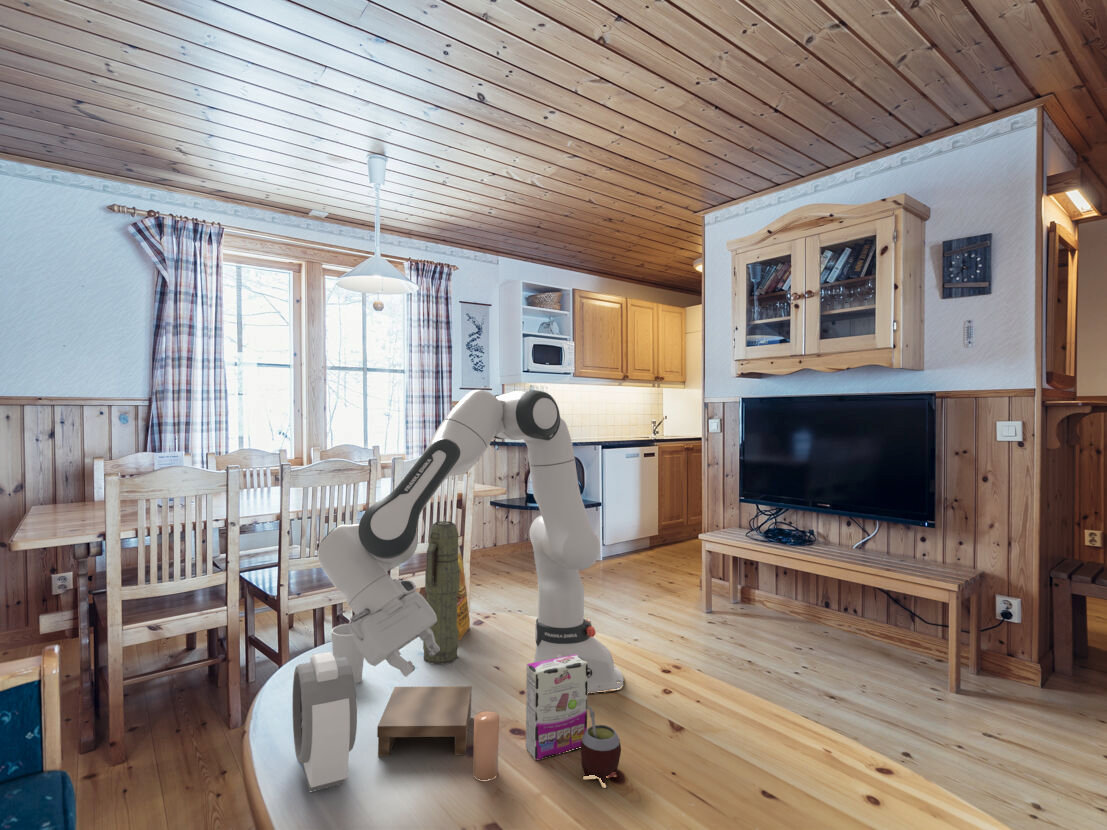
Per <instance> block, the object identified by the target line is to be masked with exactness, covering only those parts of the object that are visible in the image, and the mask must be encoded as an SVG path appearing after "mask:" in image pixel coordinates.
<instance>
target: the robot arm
mask: <svg viewBox="0 0 1107 830" xmlns="http://www.w3.org/2000/svg"><path fill="white" fill-rule="evenodd" d="M493 439H497V440H511V441H520V440H523V441H524V443H525V445H526V448H527V455H528V458H527V459H528V465H529V473H530V479H531V485H532V494H533V498H534V500H535V502H536V504H537V507H538V509H539V513H540V515H539V516H537V517H536V518H535V519H534V520H533V521H532V523H531V524H530V527H529V534H528V535H529V539H530V542H531V544H532V549H533V556H534V565H535V570H536V576H537V577H536V578H537V588H538V594H537V595H538V603H537V607H538V608H537V618H536V621H535V637H534V638H535V639H534V640H535V644H536V647H535V653H534V659H533V663H535V662H540V661H545V660H550V659H555V658H560V657H565V656H570V655H575V654H576V655H578V656H579V657H581V658H582V659H583V660H585V661H586V662H587V663H588V674H587V693H588V692H589V693H591V692H597V691H604V690H610V689H617V688H620V687H621V686H622V685H623V681H624V675H623V673H622V672H621V670H620V669H619V668H618V667H617V666H615V662H614V659H613V656H612V653H611V651H610V649H609V648H608V647H607V646H605V645H604V644H603V643H601V642H600V641H599V640H597V639H596V638H595V636H596V633H597V632H596V629H595V627H593V626H592V623H591V622H590V621H589V620H588V619H585V618H584V617H585V615H584V612H585V587H584V584H583V582H582V579H581V575H580V571H583V570H587V569H589V568H591V567H592V566H593V565H594V564H595V563H596V562H597V560H598V558H599V556H600V552H601V544H600V540H599V537H598V536H597V534H596V533H595V531H594V530H593V527H592V525H591V522H590V519H589V516H588V513H587V510H586V507H585V505H584V502H583V498H582V495H581V491H580V486H579V480H578V479H579V478H578V473H577V472H578V471H577V466H576V464H577V463H576V457H575V451H574V446H573V441H572V438H571V434H570V431H569V428H568V425H567V423H566V421H565V420H564V418H561V415H560V409H559V406H558V404H557V401H556V400H555V399H554V397H553V396H552V395H551V394H550V393H548V392H545V391H541V390H536V389H532V390H516V391H511V392H508V393H504V394H496V395H494V394H492V393H491V392H489V391H486V390H483V389H475V390H472V391H470V392H468V393H467V394H466V395H464V397H463V398H462V399H460V401H458V402H457V404H455V405H454V406H453V408H451V410H450V411H449V412H448V413H447V415H446V416H445V417H444V419H443V420H442V422H441V423H440V425H439V426H438V427H437V429H436V431H435V432H434V434H433V436H432V437H431V439H430V441H429V443H428V444H427V446H426V448H425V449H424V452H423V454H422V455H421V456H420V457H419V459H418V460H417V461H416V462H415V464H414V465H413V466H412V467H411V468H410V469H409V471H408V472H407V474H406V475H405V476H404V478H402V480H401V481H400V483H399V484H398V485H397V486H396V487H395V489H394V490H393V491H392V492H390V493H389V494H388V495H386V496H385V497H383V498H382V499H381V500H379V501H377V502H375V503H374V504H373V505H371V506H370V507H369V508H367V510H366V511H365V512H364V513H363V515H362V516H361V518H360V519H359V520H360V521H359V523H356V524H355V523H354V524H340V525H339V526H336V527H335V528H333V529H332V530H331V531H330V532H329V533H327V534H326V535H325V537H324V538H323V539H322V540H321V542H320V544H319V545H318V548H317V551H316V553H317V561H318V562H319V564H320V567H321V568H322V570H323V572H324V573H325V575H326V576H327V578H328V579H329V581H330V582H331V584H332V585H333V586H334V587H335V589H337V590H339V592H340V593H341V594H342V595H343V596H344V597H345V600H346V604H347V605H348V606H349V608H350V609H351V610H352V612H353V613H354V614H353V615H352V616H351V617H350V619H349V622H348V624H349V628H350V630H351V632H352V633H353V638H354V641H355V643H356V644H357V646H358V648H359V650H360V652H361V653H362V655H363V656H364V660H365V662H366V663H367V664H369V665H371V666H373V667H376V666H377V665H379V664H381V663H382V662H383V661H385V660H386V662H387V663H388V665H390V666H391V667H393V668H395V669H396V670H399V671H400V672H401V674H402V675H403V676H404V677H408V676H409V675H411V673H413V672H414V671H415V670H416V666H415V665H414V664H413V662H412V661H411V660H407V659H405V658H404V657H402V656H401V655H402V653H401V652H400V650H401V649H402V648H404V647H406V646H407V645H409V644H410V643H411V642H414V640H416V639H417V638H419V639H420V640H421V641H423V640H424V641H425V644H426V646H427V649H426V651H427V653H429V655H430V656H431V657H432V656H434V655H435V654H436V653H437V652H438V651H439V650H440V647H439V646H438V645H437V643H436V642H435V638H434V634H433V632H432V630H431V629H430V628H431V627H432V626H433V625H434V624H435V623H436V622H437V617H436V614H435V612H434V611H433V609H432V608H431V606H430V605H429V604H428V602H427V599H425V597H424V596H423V595H422V594H421V593H420V592H419V591H416V590H417V585H416V584H415V582H414V581H412V580H408V579H407V580H405V579H397V578H393V577H392V576H391V575H390V574H389V573H388V572H389V571H390V570H392V569H393V570H394V569H395V568H397V567H399V566H400V565H402V564H404V563H406V562H407V561H409V560H410V559H411V558H412V557H413V555H414V554H415V553H416V550H417V548H418V545H419V544H418V542H419V541H418V540H419V539H418V538H419V537H418V531H417V528H418V521H419V518H420V515H421V514H422V511H423V510H424V508H426V506H427V504H428V503H429V502H430V500H431V499H432V497H433V496H434V495H435V494H436V492H437V491H438V489H439V488H440V487H441V486H442V484H443V483H444V482H445V481H446V480H447V478H449V477H450V476H451V477H452V476H459V475H460V476H461V475H463V474H467V473H468V472H469V471H470V470H471V469H472V468H473V467H474V466H475V465H476V463H478V462H479V460H480V459H481V458H482V457H483V455H484V453H485V452H486V450H487V449H488V448H489V446H490V445H491V443H492V441H493ZM614 668H615V669H614ZM617 682H620V683H617ZM623 686H624V685H623Z"/></svg>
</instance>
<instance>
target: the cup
mask: <svg viewBox="0 0 1107 830" xmlns="http://www.w3.org/2000/svg"><path fill="white" fill-rule="evenodd" d="M330 634H331V646H332V647H331V648H332V654H333V656H334V658H340V657H347V658H348V660H349V662H350V664H351V667H352V671H353V675H354V681H355V685H357V684H359V683H361V682H362V680H363V670H364V669H363V668H364V660H365V658H364V656H363V655H362V653H361V652H360V650H359V648H358V646H357V644H356V643H355V641H354V638H353V633H352V632H351V630H350V628H349V623H344V624H343V623H342V624H340V625H337V626H334V627H333V628H331V633H330ZM358 682H359V683H358ZM356 683H357V684H356Z"/></svg>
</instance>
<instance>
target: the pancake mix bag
mask: <svg viewBox="0 0 1107 830" xmlns="http://www.w3.org/2000/svg"><path fill="white" fill-rule="evenodd" d="M461 552H462V551H461V549H460V545H459V543H458V565H459V568H460V585H459V591H458V593H457V629H458V632H459V636H458V642H459V641H461V639H462V638H463V637H464V636H465V634H466V633H467V632H468V631H467V630H469V629H470V627H471V626H470V625H471V624H470V623H471V622H470V621H471V619H470V611H469V606H468V605H469V604H468V594H467V593H468V592H467V585H466V575H465V568H464V567H465V566H464V561H463V556H462V553H461Z"/></svg>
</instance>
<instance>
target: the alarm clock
mask: <svg viewBox="0 0 1107 830" xmlns="http://www.w3.org/2000/svg"><path fill="white" fill-rule="evenodd" d="M309 660H310V661H309V662H305V663H300V664H297V665H296V666H295V669H294V671H293V672H294V673H293V680H292V681H293V682H292V707H291V708H292V730H293V731H292V732H293V744H294V752H295V757H296V761H297V762H298V763H299V764H301V765H302V767H303V771H304V774H305V779H307V780H306V783H308V784H307V788H308V787H309V788H308V791H314V790H318V791H320V790H319V789H321V790H324V789H323V788H325V789H327V788H326V787H329V788H332V787H331V786H333V787H336V786H340V785H343V780H345V779H348V775H349V774H348V773H349V761H350V760H349V758H350V752H352V750H353V749H354V746H355V742H356V738H357V727H358V724H357V723H358V705H357V691H356V684H355V681H354V675H353V671H352V667H351V664H350V662H349V660H348V658H347V657H340V658H334V656H333V652H332V651H328V652H320V653H316V654H312V655H311V656H310V659H309ZM339 784H340V785H339ZM335 785H336V786H335ZM314 792H315V791H314Z"/></svg>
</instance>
